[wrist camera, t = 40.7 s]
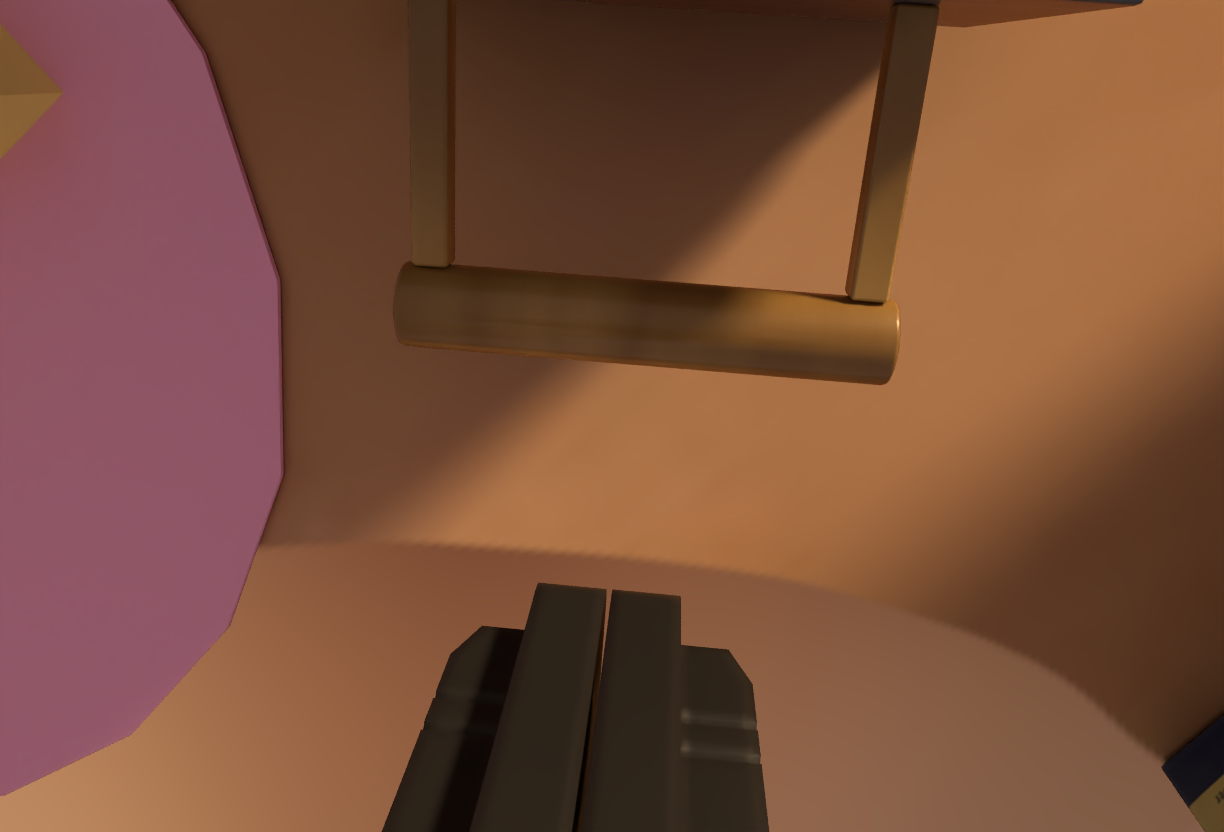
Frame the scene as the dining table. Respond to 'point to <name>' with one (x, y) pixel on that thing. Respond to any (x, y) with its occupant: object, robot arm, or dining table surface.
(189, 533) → the platter
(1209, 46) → the dining table surface
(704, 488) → the dining table surface
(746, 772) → the robot arm
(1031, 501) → the dining table surface
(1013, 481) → the dining table surface
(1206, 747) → the protein box
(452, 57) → the drawer
